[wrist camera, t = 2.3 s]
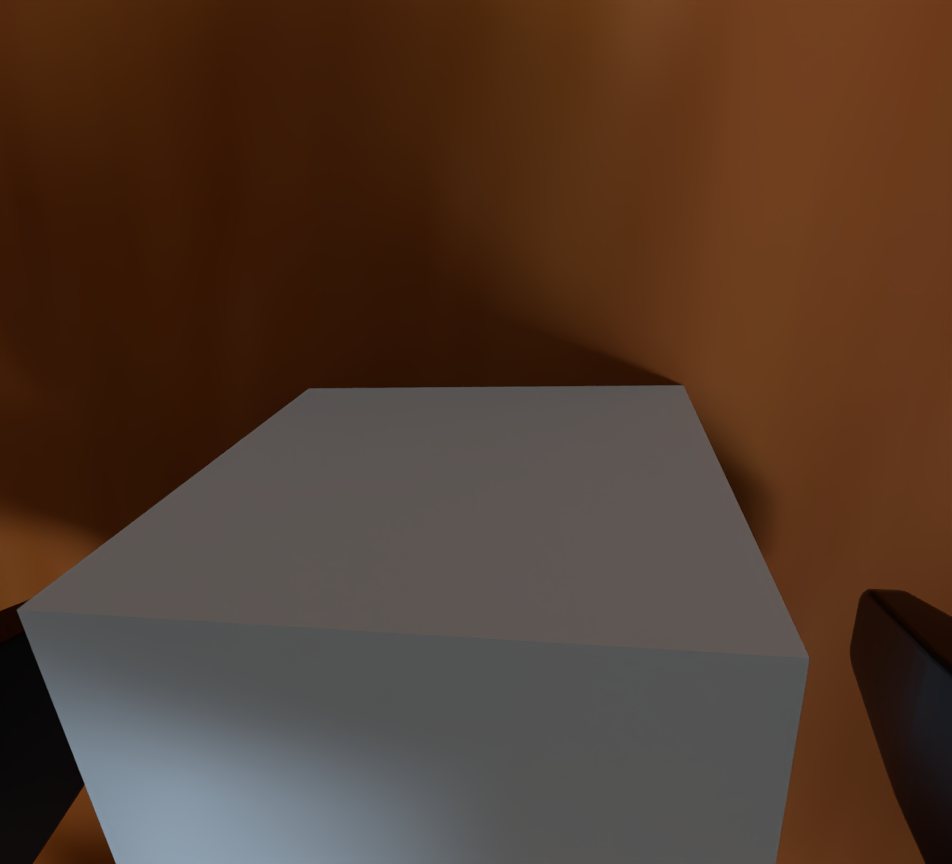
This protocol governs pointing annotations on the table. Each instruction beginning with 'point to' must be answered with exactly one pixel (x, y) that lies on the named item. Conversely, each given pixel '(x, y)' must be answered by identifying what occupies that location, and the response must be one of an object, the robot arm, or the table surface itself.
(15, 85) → the table surface
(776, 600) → the bluish grey cube
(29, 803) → the robot arm
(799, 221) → the table surface
